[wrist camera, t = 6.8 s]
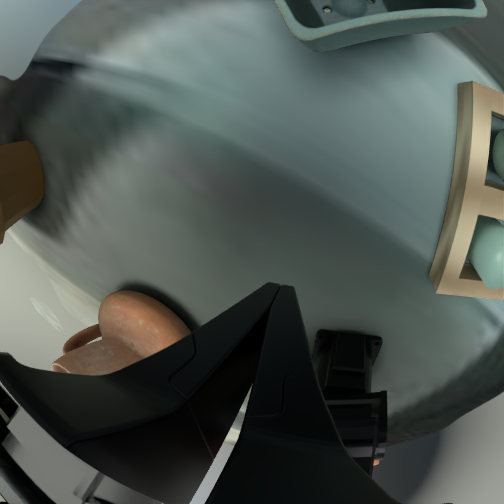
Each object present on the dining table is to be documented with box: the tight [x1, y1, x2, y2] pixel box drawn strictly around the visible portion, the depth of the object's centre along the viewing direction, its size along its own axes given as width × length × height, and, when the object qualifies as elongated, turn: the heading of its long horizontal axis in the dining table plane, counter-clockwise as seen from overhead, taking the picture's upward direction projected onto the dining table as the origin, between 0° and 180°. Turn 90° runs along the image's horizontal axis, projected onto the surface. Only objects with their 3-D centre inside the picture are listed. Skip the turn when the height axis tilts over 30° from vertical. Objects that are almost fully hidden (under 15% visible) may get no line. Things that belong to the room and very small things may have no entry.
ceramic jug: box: [51, 290, 191, 375], centre depth 27 cm, size 18×14×14 cm
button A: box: [467, 215, 504, 289], centre depth 14 cm, size 4×4×4 cm
